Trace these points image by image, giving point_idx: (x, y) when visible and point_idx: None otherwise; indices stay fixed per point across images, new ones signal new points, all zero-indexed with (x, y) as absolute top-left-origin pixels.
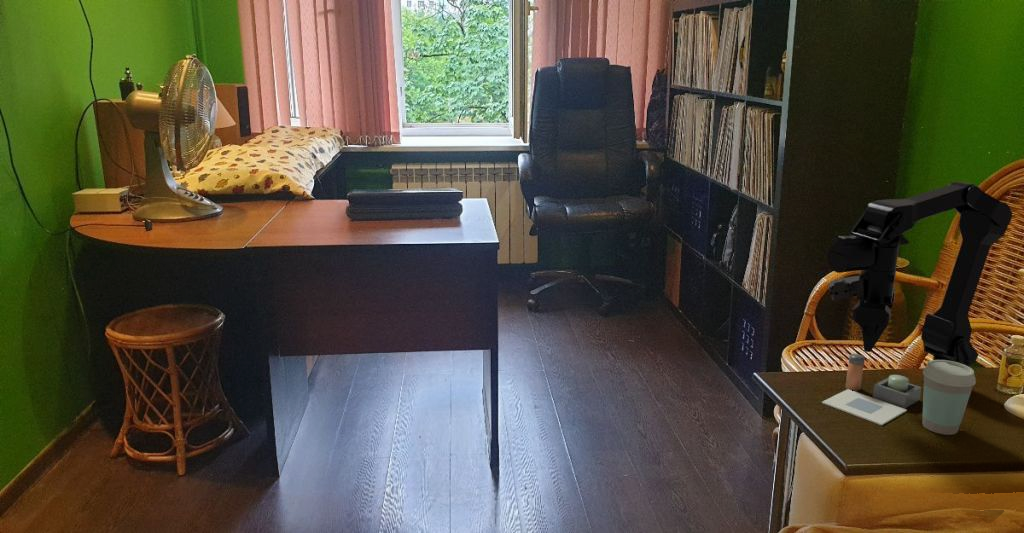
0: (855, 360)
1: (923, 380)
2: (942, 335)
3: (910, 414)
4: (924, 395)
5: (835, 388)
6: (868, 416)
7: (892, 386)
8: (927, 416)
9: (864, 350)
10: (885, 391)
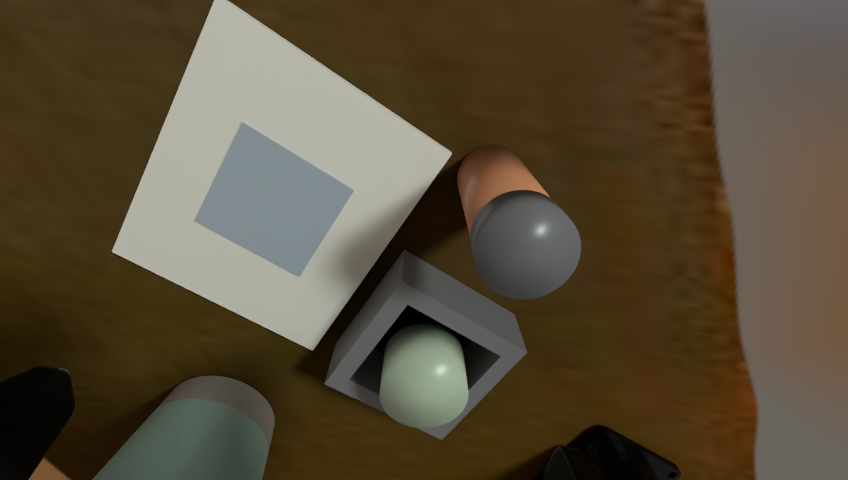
0: (474, 234)
1: (611, 435)
2: None
3: (290, 353)
4: (125, 474)
5: (460, 92)
6: (160, 209)
7: (392, 350)
8: (154, 415)
9: (38, 368)
10: (372, 312)
